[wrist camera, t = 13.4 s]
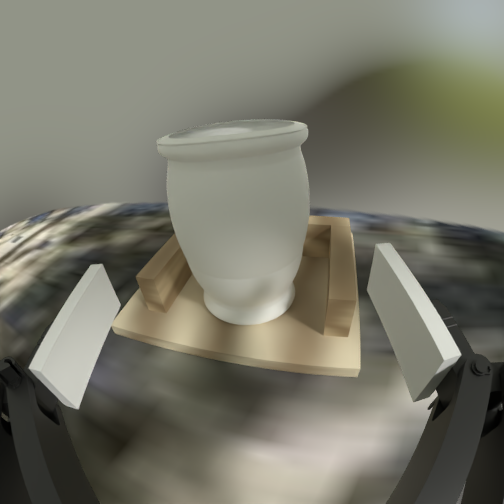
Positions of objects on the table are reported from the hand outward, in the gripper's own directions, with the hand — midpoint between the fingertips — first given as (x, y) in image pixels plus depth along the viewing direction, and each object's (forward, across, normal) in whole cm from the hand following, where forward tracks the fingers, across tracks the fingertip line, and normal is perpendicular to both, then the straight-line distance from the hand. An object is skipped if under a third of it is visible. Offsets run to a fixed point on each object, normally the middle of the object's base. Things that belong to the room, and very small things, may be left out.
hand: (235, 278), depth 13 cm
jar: (+10, 0, -10) cm, 14 cm away
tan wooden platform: (+13, 0, -11) cm, 17 cm away
